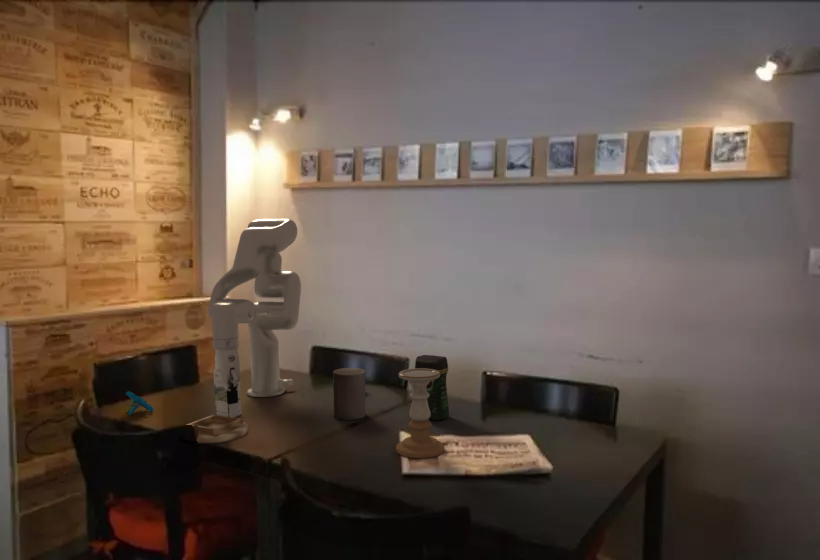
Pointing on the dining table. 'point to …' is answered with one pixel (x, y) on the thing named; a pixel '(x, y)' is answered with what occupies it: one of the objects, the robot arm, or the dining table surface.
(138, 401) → the blue t-shaped piece
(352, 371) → the pillar candle
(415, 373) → the candle holder
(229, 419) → the flange base
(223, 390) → the syrup box
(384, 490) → the dining table surface
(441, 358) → the coffee jar
